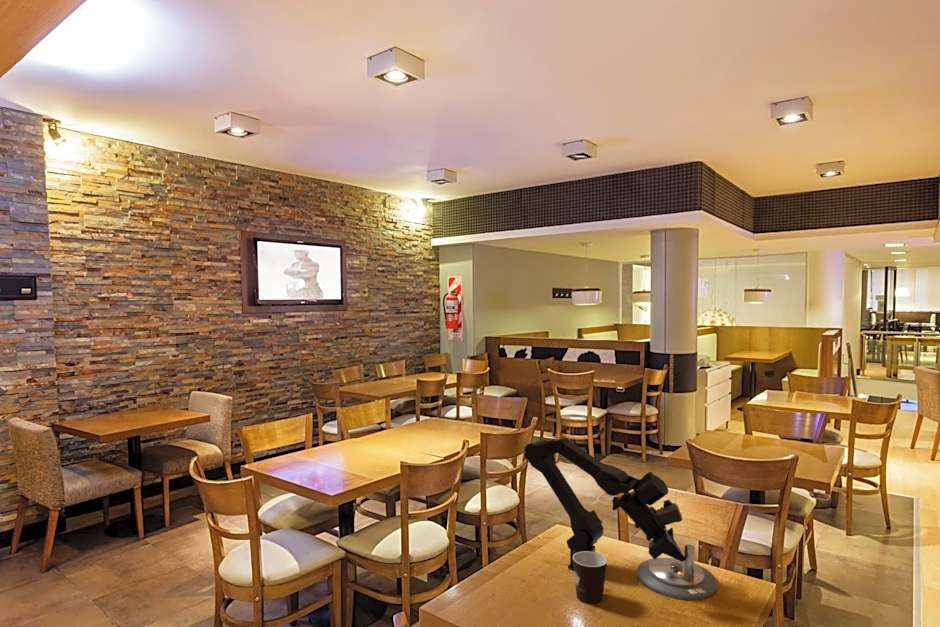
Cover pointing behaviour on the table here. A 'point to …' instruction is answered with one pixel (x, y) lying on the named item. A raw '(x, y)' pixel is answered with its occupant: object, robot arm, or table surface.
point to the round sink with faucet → (678, 570)
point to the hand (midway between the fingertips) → (683, 560)
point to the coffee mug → (589, 576)
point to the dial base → (673, 591)
